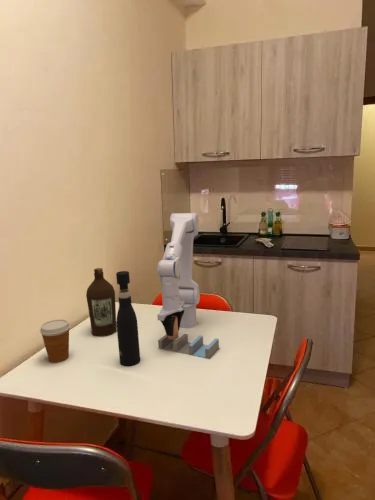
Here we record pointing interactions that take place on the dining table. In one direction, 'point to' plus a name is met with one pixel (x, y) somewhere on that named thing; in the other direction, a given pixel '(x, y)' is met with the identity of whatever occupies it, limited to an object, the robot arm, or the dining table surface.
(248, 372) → the dining table surface
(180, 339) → the grey slotted rack
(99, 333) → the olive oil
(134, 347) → the wine bottle
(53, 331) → the disposable coffee cup
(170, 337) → the tan rounded cylinder
